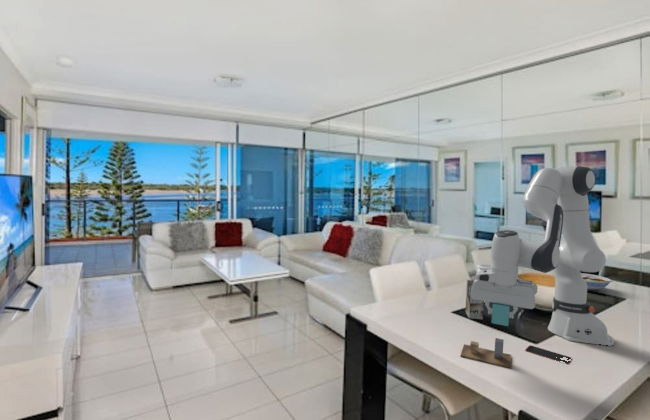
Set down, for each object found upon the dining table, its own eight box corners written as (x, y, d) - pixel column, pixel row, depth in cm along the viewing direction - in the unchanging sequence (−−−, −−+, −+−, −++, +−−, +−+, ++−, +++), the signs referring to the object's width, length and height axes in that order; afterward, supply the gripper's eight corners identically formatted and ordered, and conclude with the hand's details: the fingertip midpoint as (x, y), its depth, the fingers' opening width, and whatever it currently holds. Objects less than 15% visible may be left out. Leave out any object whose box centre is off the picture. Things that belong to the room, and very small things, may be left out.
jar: (472, 288, 212) (473, 264, 210) (486, 287, 215) (487, 263, 214) (485, 294, 201) (486, 268, 200) (499, 293, 205) (501, 267, 203)
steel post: (502, 358, 125) (503, 339, 124) (502, 361, 123) (503, 342, 122) (494, 356, 126) (495, 337, 126) (494, 359, 124) (495, 340, 123)
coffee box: (483, 319, 162) (485, 285, 161) (468, 318, 163) (470, 284, 162) (478, 312, 171) (480, 280, 170) (464, 311, 172) (466, 279, 171)
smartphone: (568, 364, 122) (524, 350, 131) (568, 366, 122) (524, 351, 131) (572, 357, 127) (529, 344, 136) (572, 359, 127) (529, 346, 136)
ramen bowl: (609, 288, 222) (610, 275, 221) (615, 297, 203) (616, 283, 202) (562, 281, 235) (563, 269, 235) (563, 289, 216) (564, 276, 215)
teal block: (508, 321, 124) (509, 302, 124) (508, 326, 120) (509, 306, 119) (492, 318, 127) (493, 299, 126) (491, 322, 122) (492, 303, 122)
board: (511, 356, 127) (511, 345, 126) (510, 368, 118) (511, 357, 118) (464, 345, 134) (464, 335, 134) (460, 356, 126) (461, 345, 125)
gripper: (537, 279, 120) (534, 319, 121) (473, 271, 130) (470, 307, 131) (538, 284, 115) (535, 325, 115) (471, 274, 124) (468, 312, 125)
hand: (500, 315), depth 123 cm, fingers closed on teal block, 5 cm apart
